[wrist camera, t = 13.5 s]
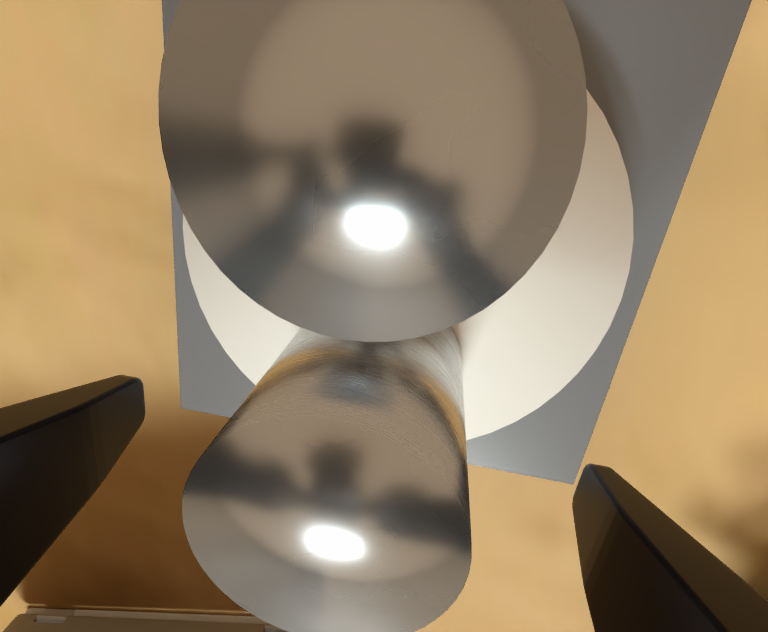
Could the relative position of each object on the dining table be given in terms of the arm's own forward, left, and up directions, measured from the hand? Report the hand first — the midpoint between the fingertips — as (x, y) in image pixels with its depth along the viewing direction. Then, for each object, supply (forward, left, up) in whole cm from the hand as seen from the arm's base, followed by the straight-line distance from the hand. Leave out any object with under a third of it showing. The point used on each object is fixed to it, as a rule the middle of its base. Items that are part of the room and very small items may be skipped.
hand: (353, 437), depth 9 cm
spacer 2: (0, 0, -4) cm, 4 cm away
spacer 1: (0, +6, -4) cm, 7 cm away
